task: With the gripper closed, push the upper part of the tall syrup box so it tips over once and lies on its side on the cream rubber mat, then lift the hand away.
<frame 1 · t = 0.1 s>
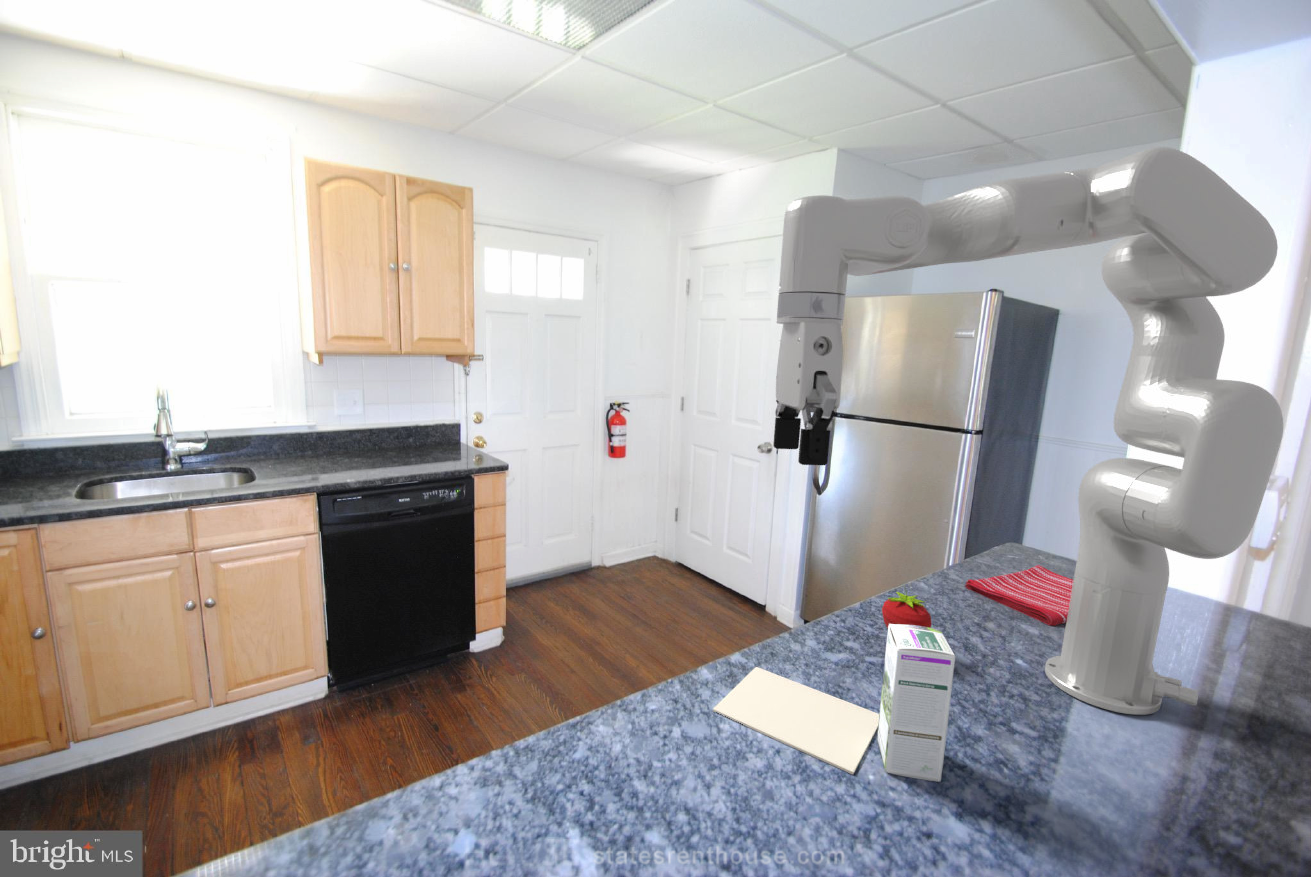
hand: (798, 456, 70), 31 cm above the countertop, tool pointing down, fingers open, 9 cm apart
strawberry: (902, 650, 87), on the countertop
dish towel: (1043, 600, 109), on the countertop
syrup box: (906, 761, 63), on the countertop
cream mat: (797, 714, 71), on the countertop
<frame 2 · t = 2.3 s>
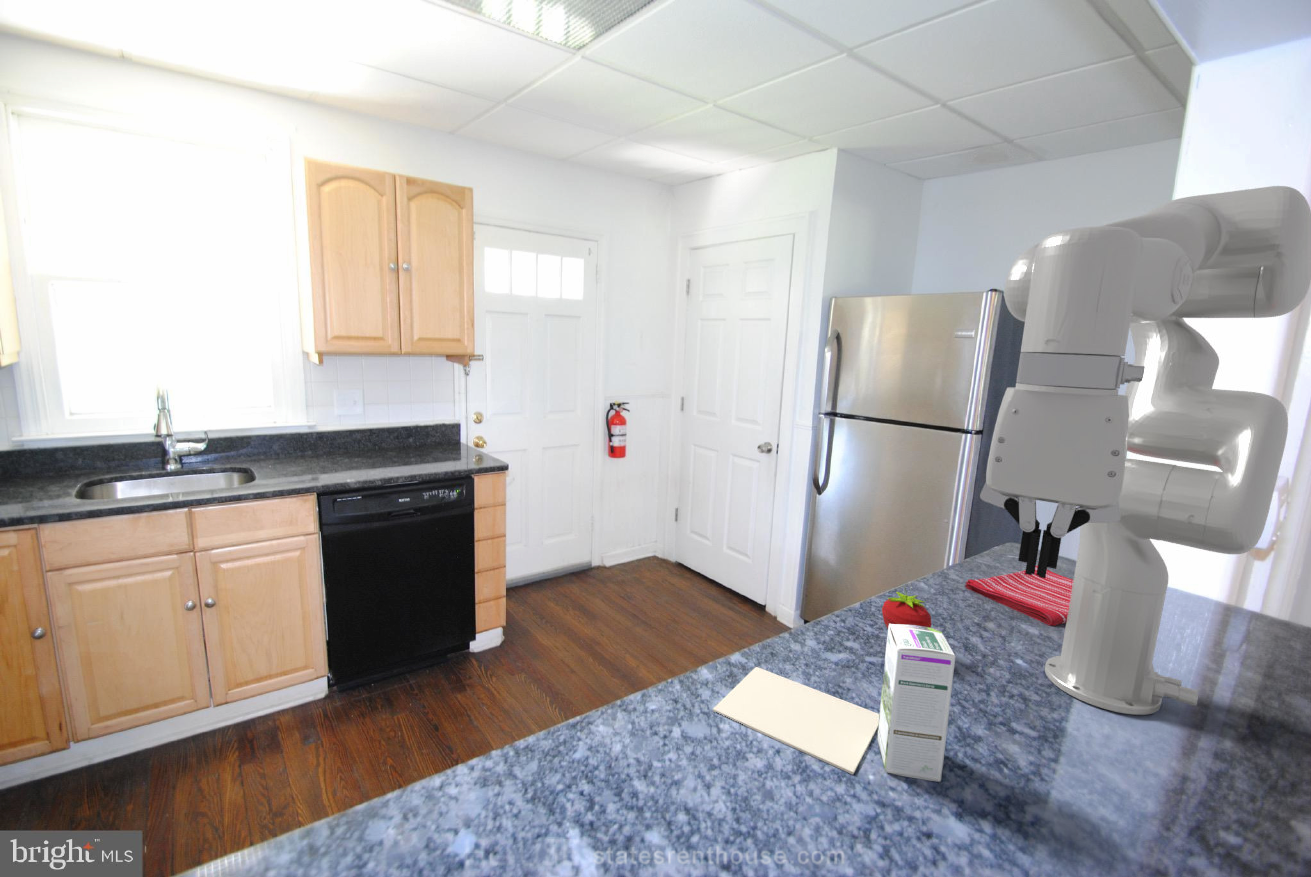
hand: (1035, 571, 54), 24 cm above the countertop, tool pointing down, fingers closed
nothing on the countertop moved.
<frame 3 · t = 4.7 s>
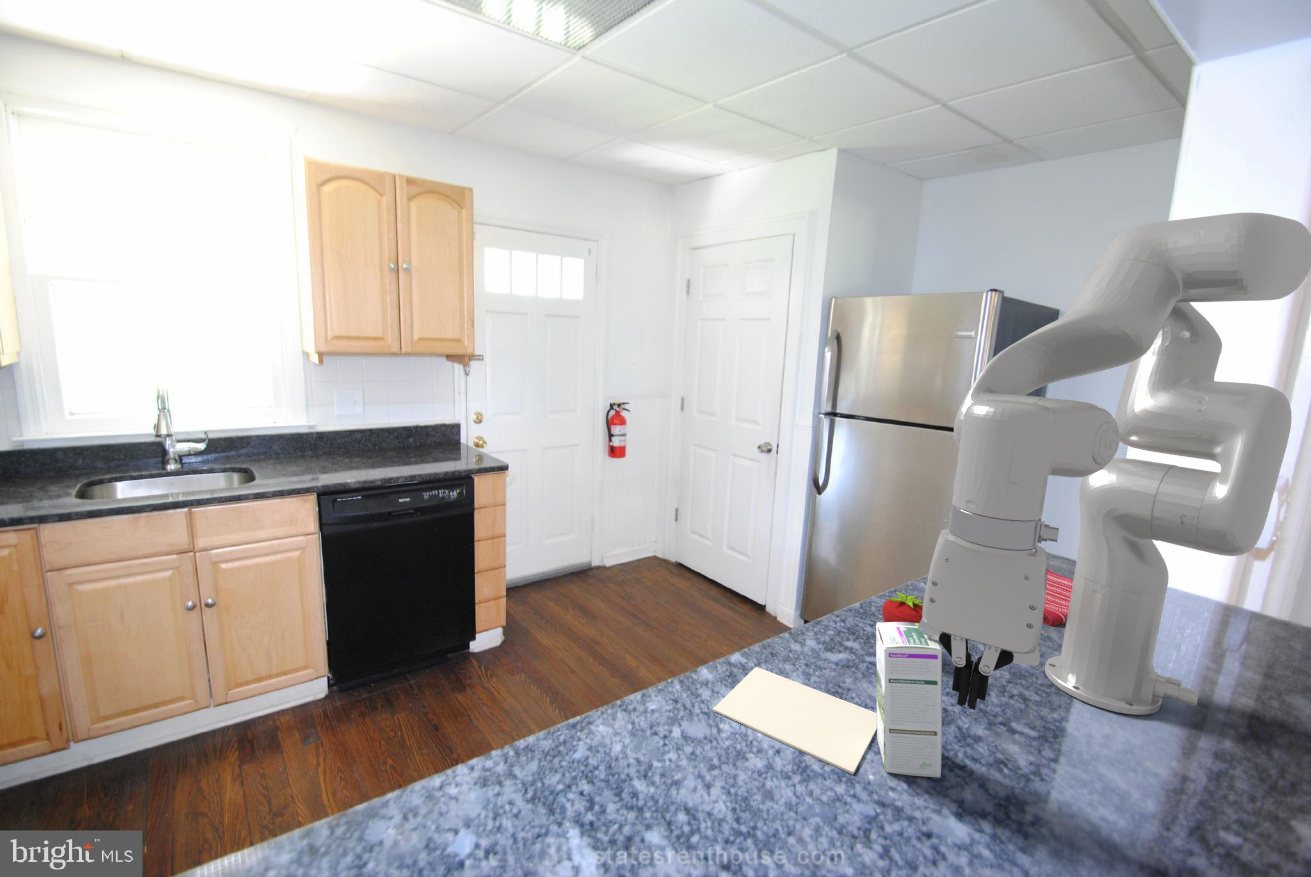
hand: (967, 700, 59), 9 cm above the countertop, tool pointing down, fingers closed
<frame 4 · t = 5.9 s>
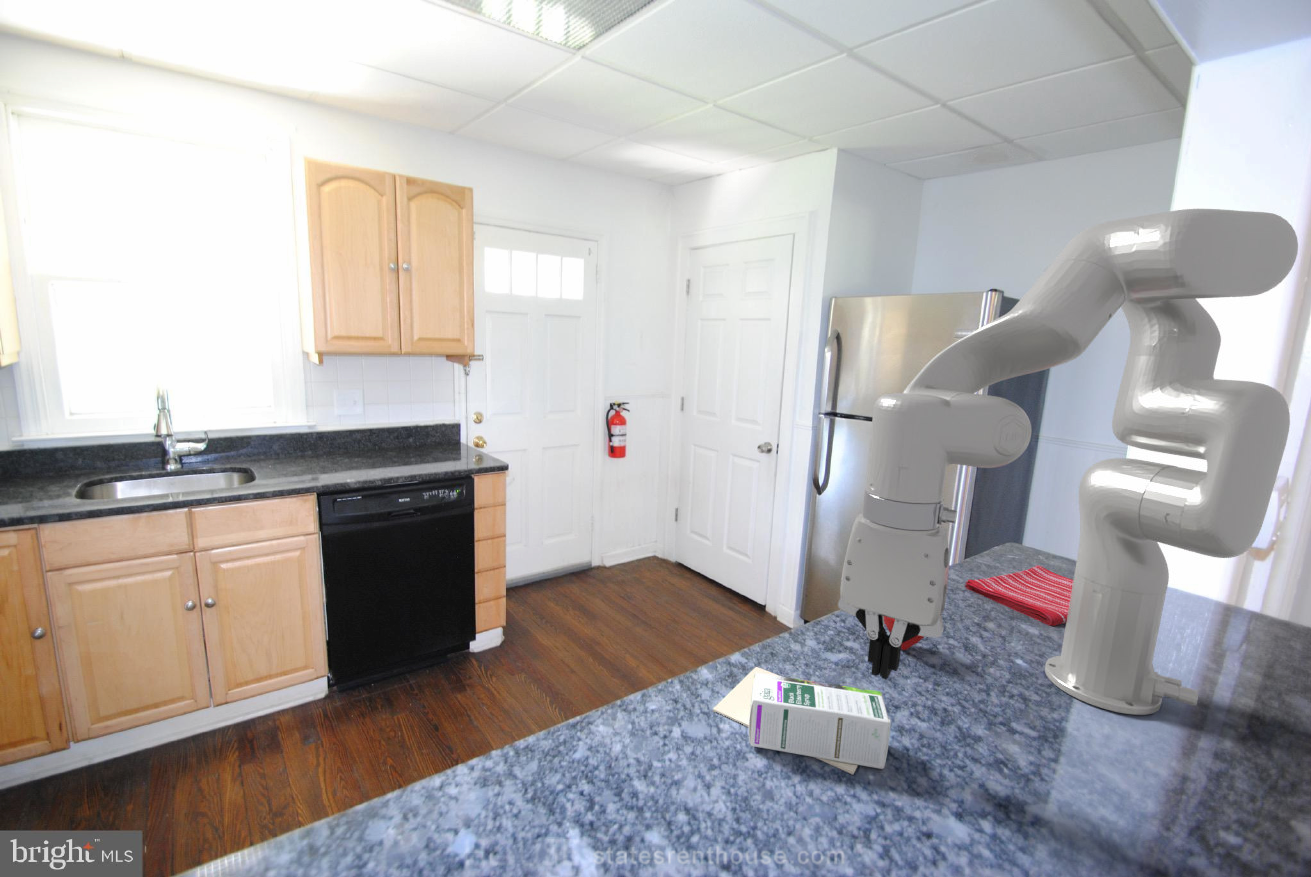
hand: (882, 671, 64), 9 cm above the countertop, tool pointing down, fingers closed
syrup box: (885, 730, 63), point 3 cm above the countertop, touching cream mat
everything else where it was.
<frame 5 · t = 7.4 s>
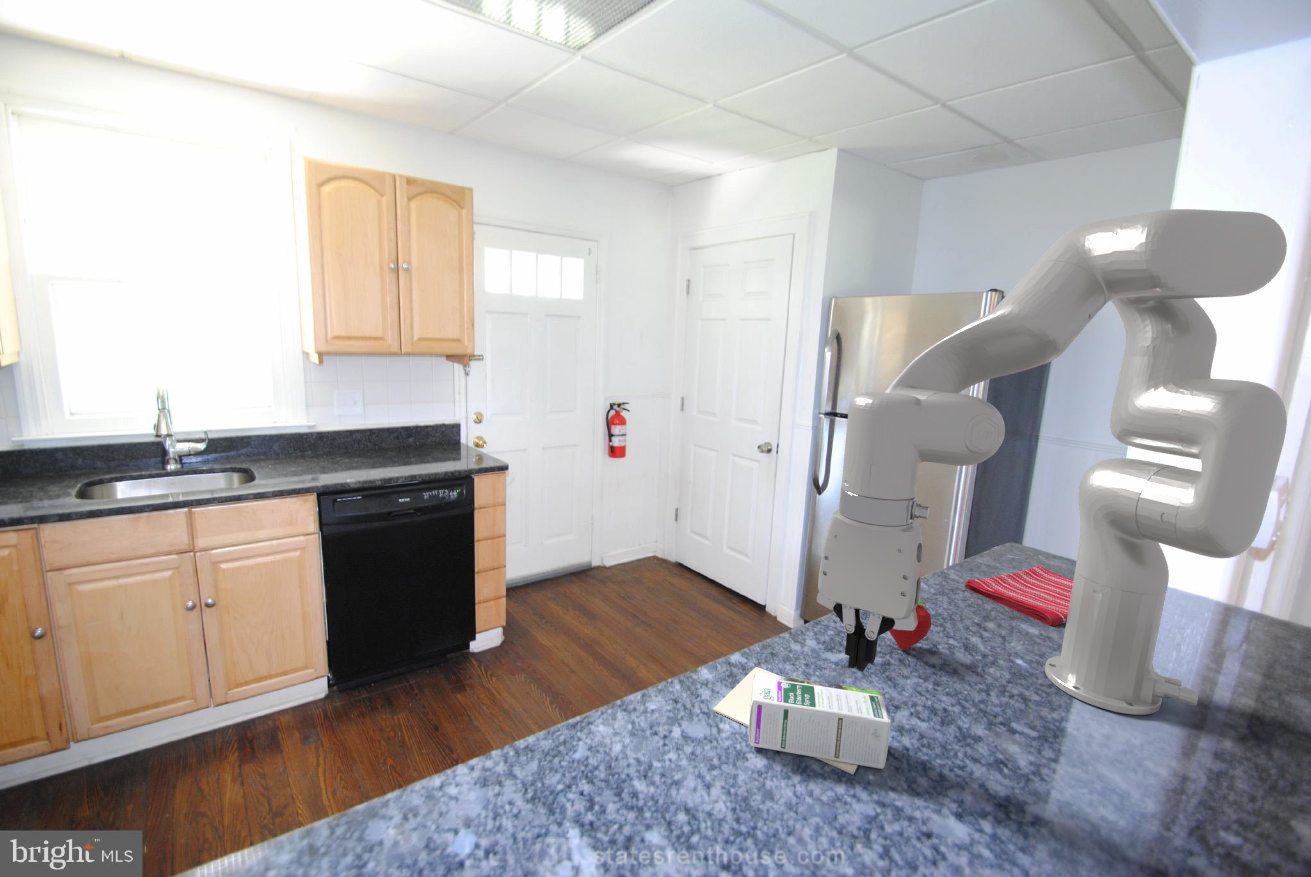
hand: (859, 664, 65), 9 cm above the countertop, tool pointing down, fingers closed
nothing on the countertop moved.
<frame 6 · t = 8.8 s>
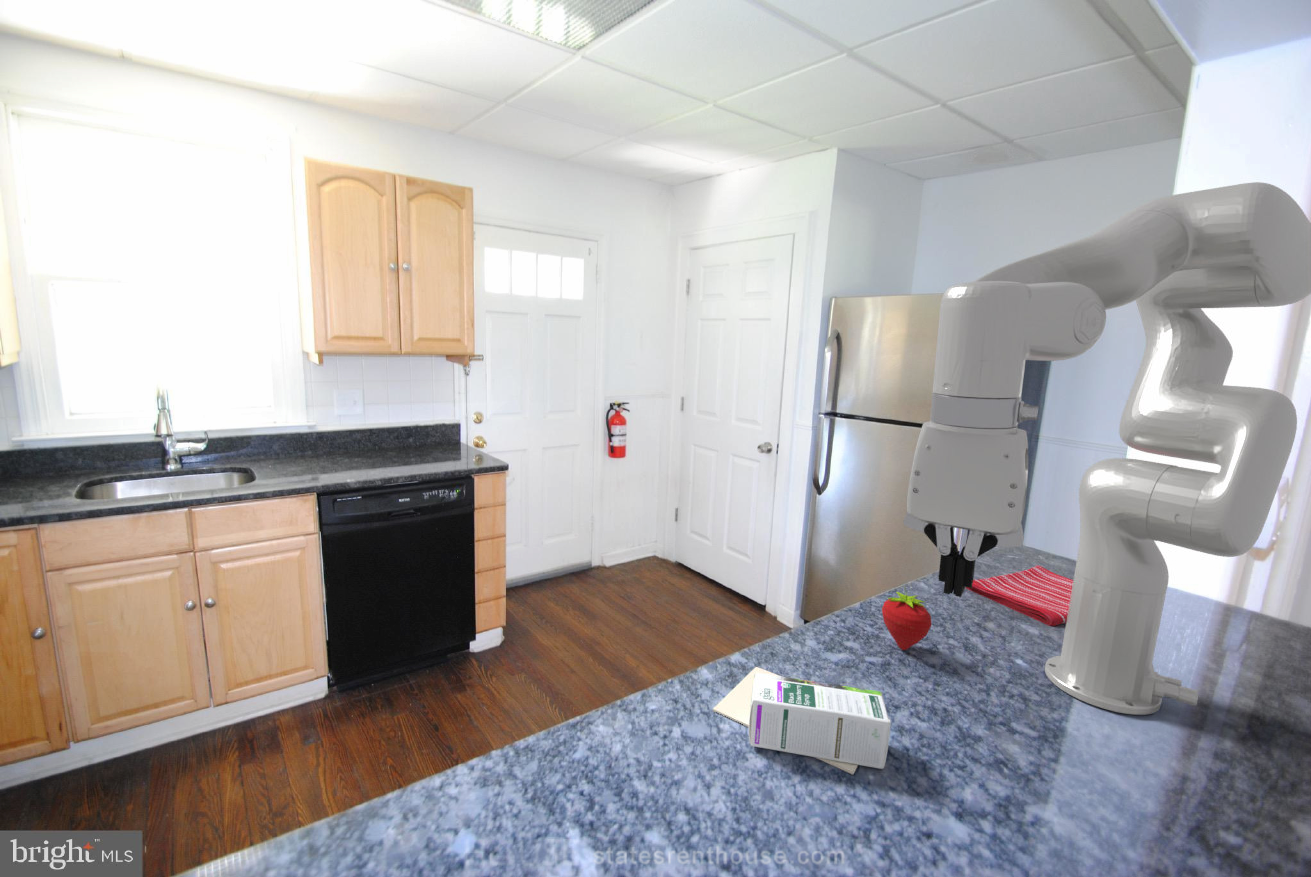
hand: (954, 590, 59), 20 cm above the countertop, tool pointing down, fingers closed
nothing on the countertop moved.
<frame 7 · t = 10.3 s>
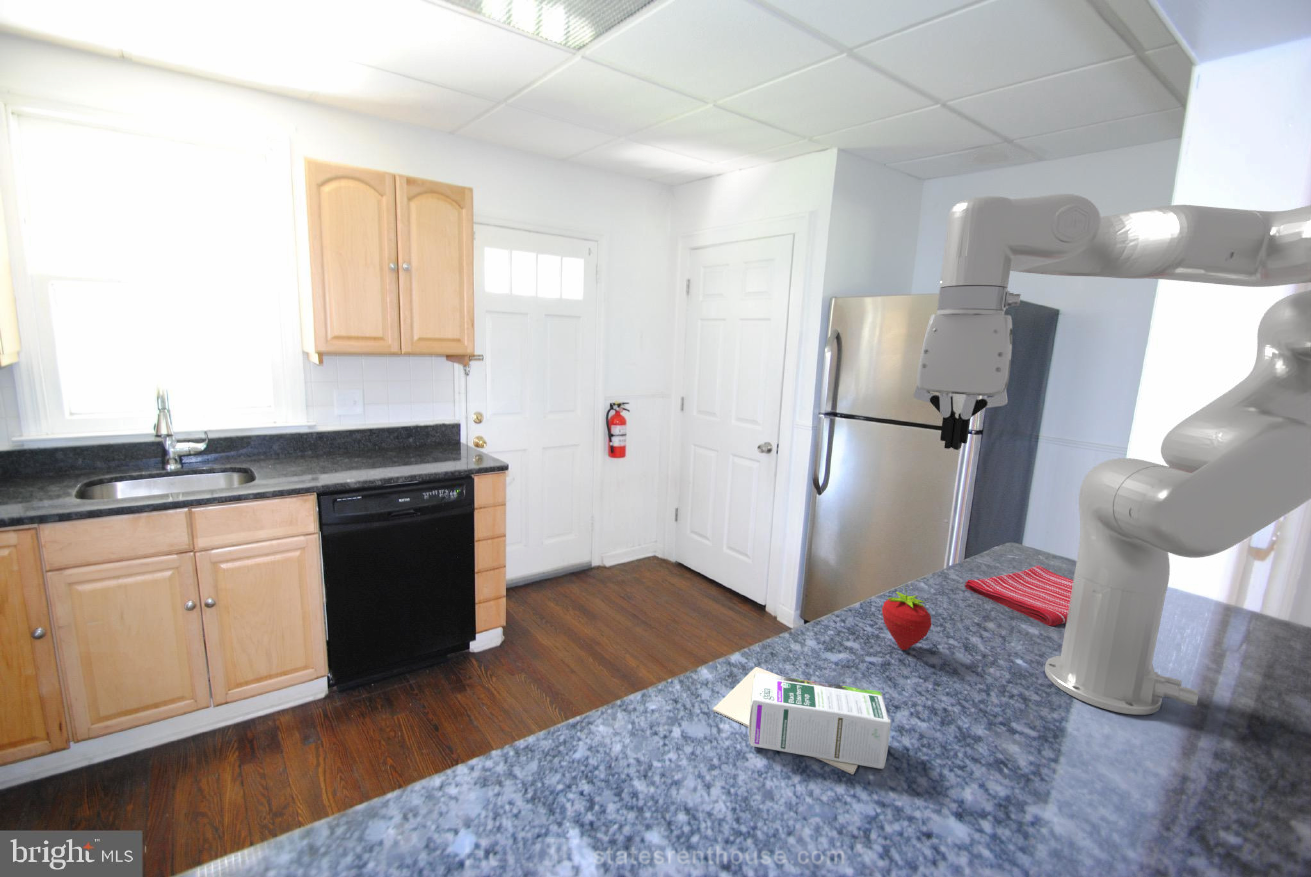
hand: (952, 447, 75), 32 cm above the countertop, tool pointing down, fingers closed
nothing on the countertop moved.
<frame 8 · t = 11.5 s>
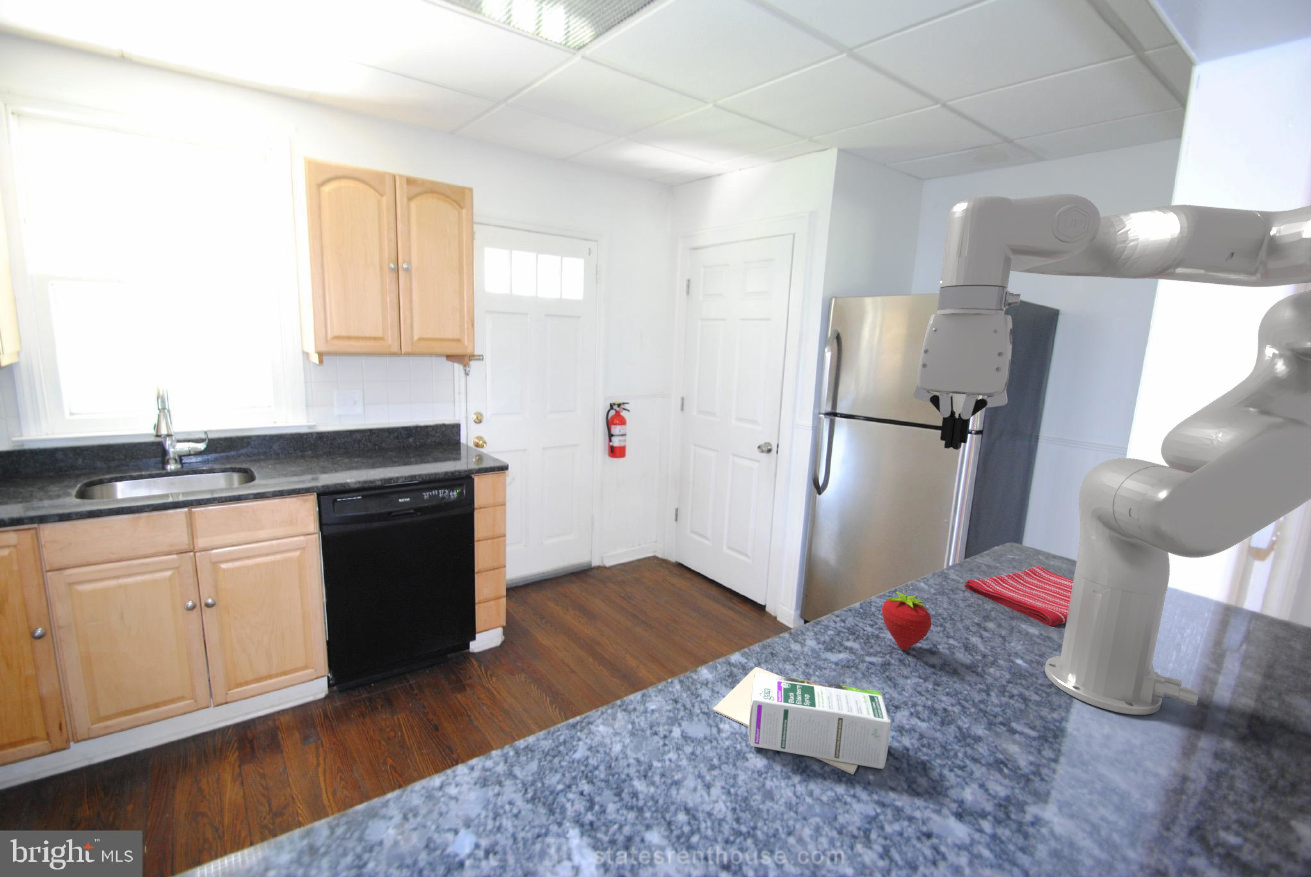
hand: (952, 447, 75), 32 cm above the countertop, tool pointing down, fingers closed
nothing on the countertop moved.
at the end: syrup box tilted 89°; syrup box touching cream mat; syrup box inside the target area (2.9 cm from its centre), point 3.1 cm above the countertop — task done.
